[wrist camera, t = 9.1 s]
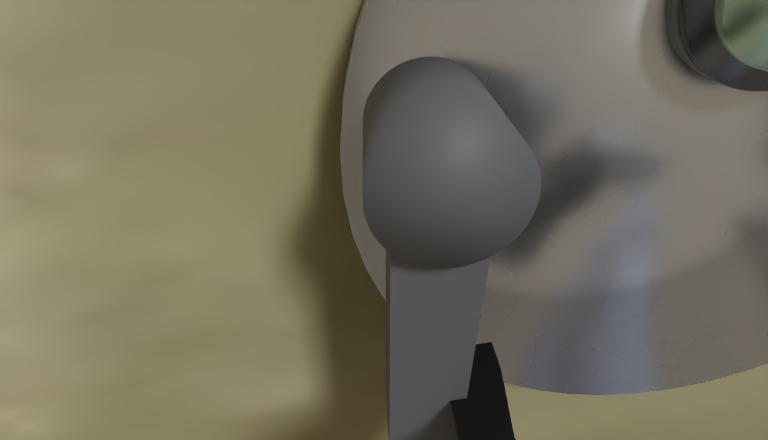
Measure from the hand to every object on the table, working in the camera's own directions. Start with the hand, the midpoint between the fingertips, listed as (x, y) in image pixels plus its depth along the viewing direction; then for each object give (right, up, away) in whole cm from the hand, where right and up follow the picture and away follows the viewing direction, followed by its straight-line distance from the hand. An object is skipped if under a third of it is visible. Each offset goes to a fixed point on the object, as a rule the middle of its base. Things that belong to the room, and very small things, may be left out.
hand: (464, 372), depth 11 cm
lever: (-1, +3, -1) cm, 4 cm away
